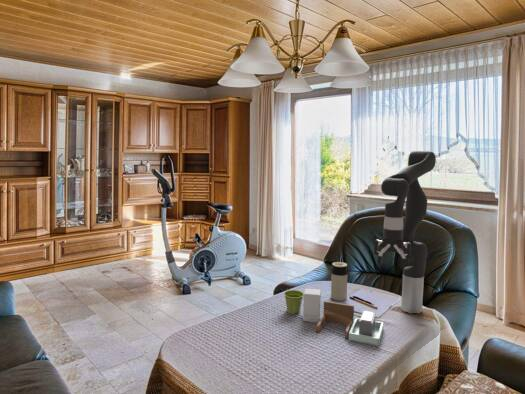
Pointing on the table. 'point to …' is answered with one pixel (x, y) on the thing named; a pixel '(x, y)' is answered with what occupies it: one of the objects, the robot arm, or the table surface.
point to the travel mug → (339, 281)
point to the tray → (365, 339)
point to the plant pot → (293, 300)
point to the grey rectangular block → (367, 323)
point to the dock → (337, 315)
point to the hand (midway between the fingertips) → (391, 265)
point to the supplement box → (311, 305)
